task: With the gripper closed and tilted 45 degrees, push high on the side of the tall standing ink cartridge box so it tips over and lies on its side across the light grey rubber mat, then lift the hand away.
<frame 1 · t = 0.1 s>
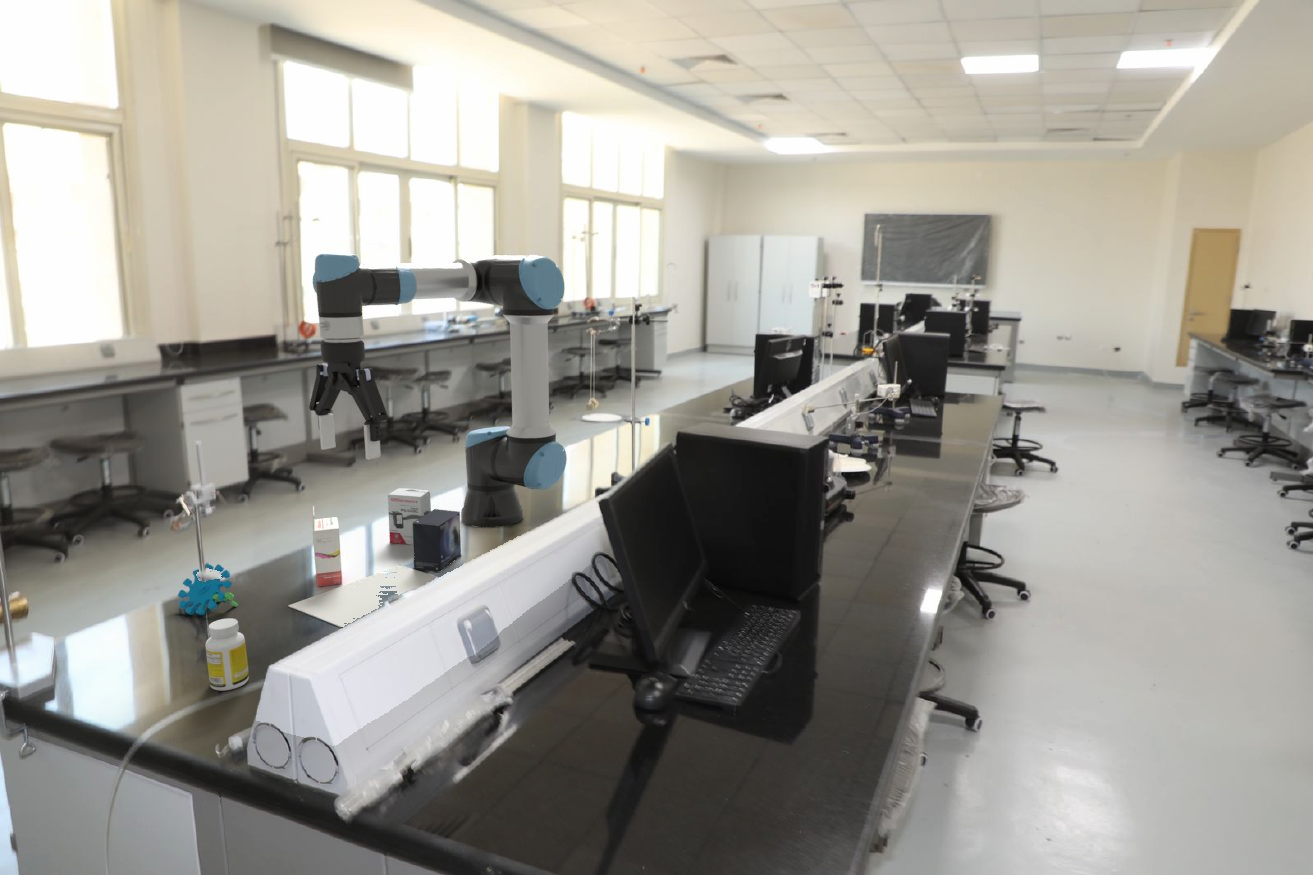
hand: (350, 453, 159), 28 cm above the worktop, tool pointing down, fingers open, 13 cm apart
supplement bottle: (229, 684, 130), on the worktop
ink box: (411, 541, 195), on the worktop
gear: (209, 609, 157), on the worktop
small box: (438, 564, 181), on the worktop
mat: (377, 595, 163), on the worktop
ink cartridge box: (329, 579, 172), on the worktop
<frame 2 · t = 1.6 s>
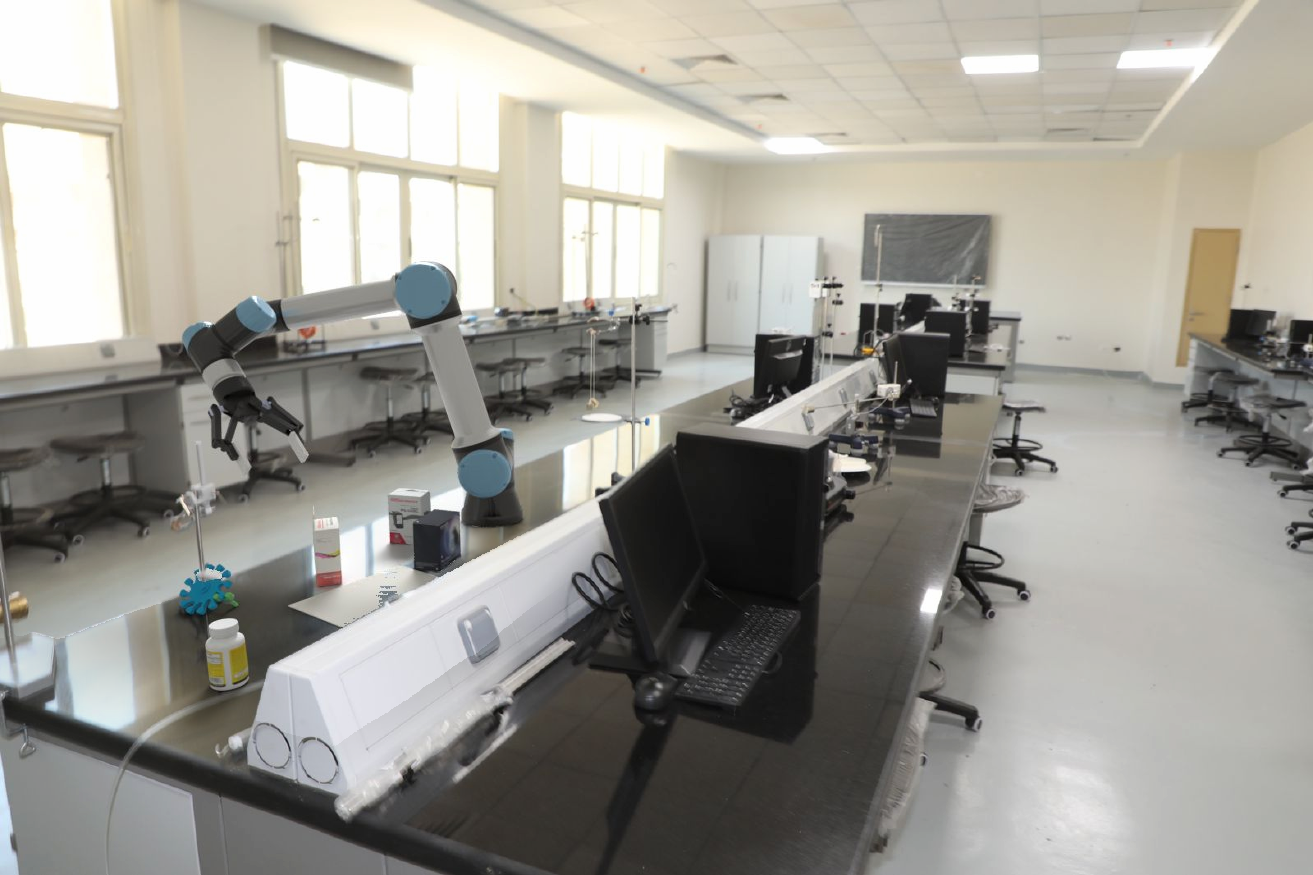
hand: (277, 464, 175), 22 cm above the worktop, tool tilted 45°, fingers open, 12 cm apart
nothing on the worktop moved.
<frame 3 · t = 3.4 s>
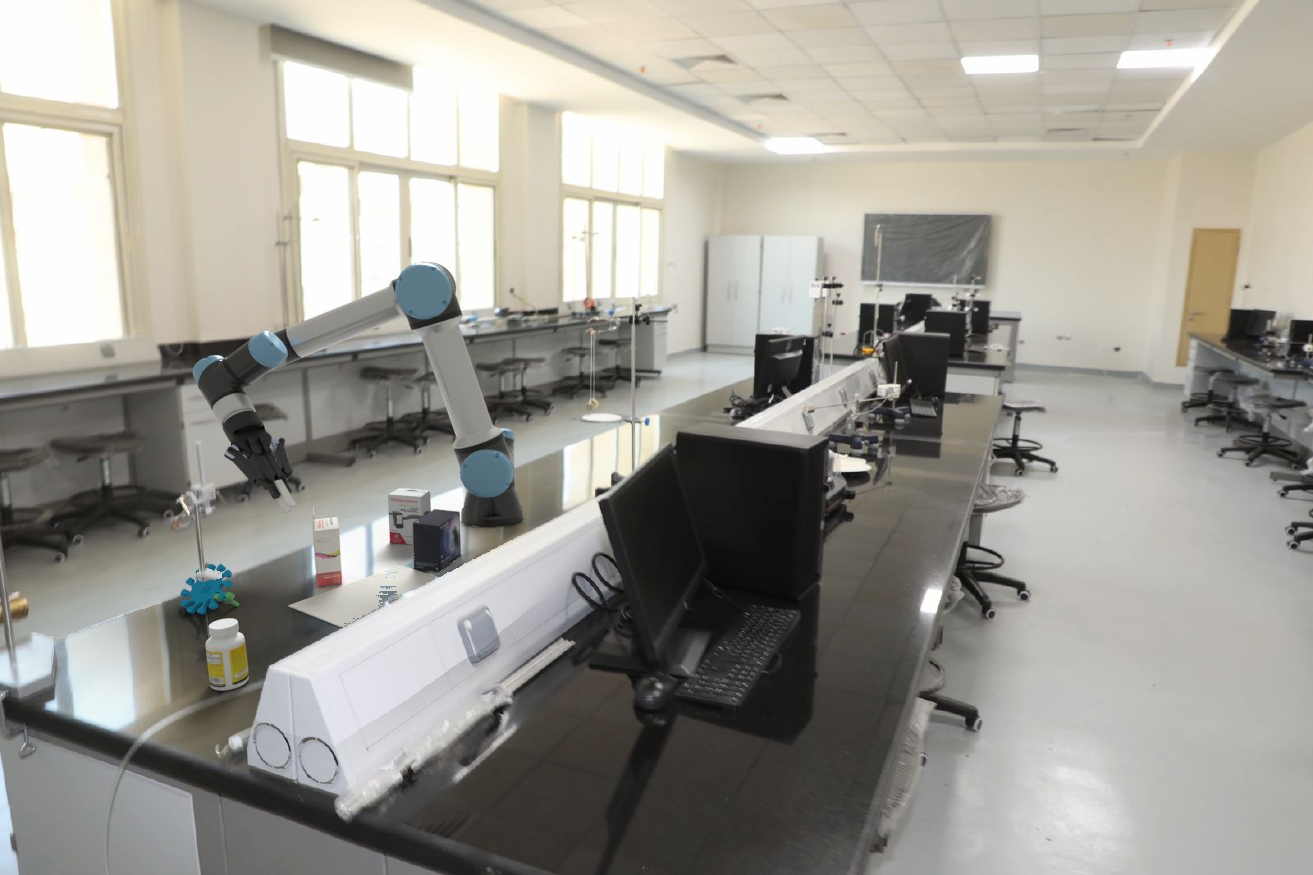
hand: (290, 508, 175), 13 cm above the worktop, tool tilted 45°, fingers closed
nothing on the worktop moved.
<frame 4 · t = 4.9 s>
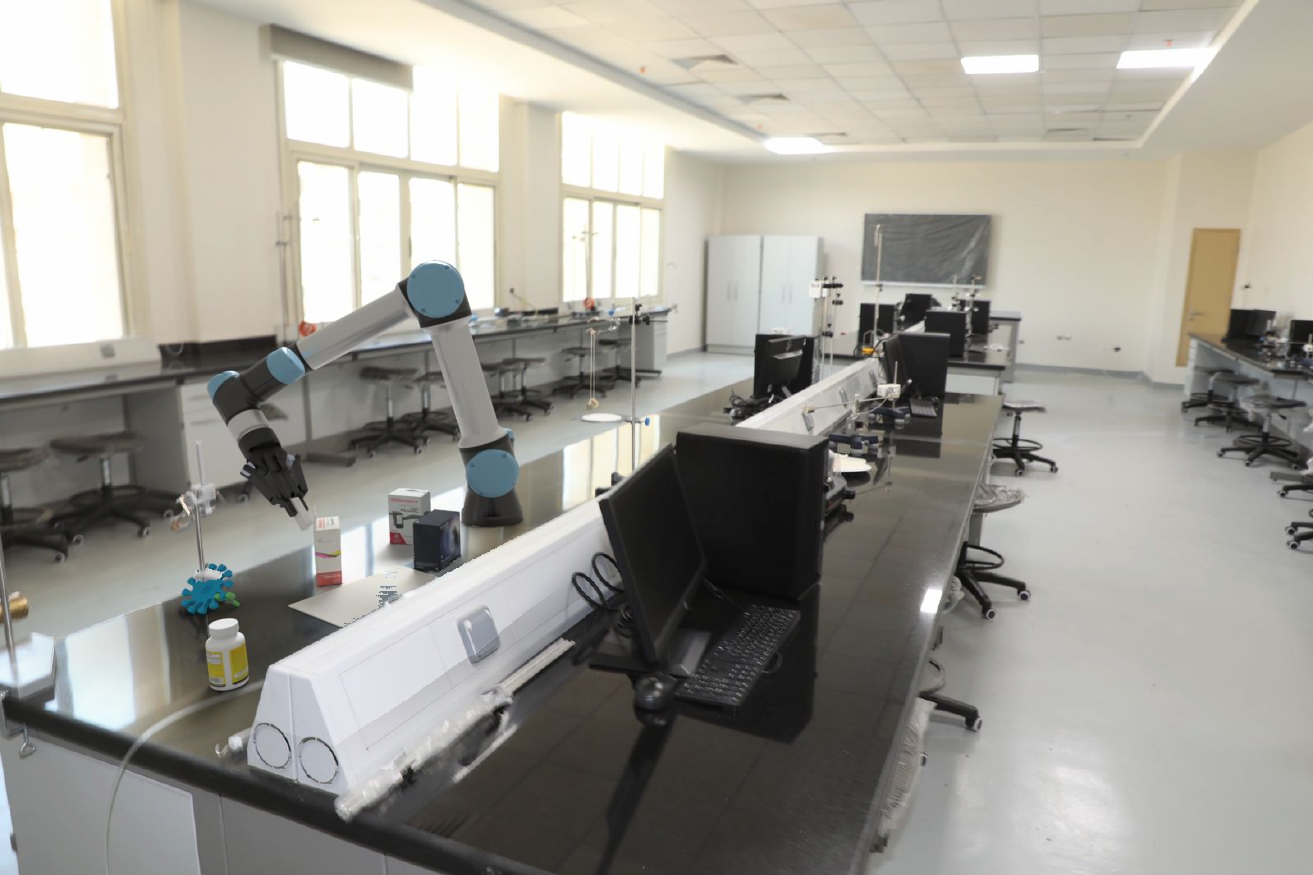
hand: (307, 526, 172), 10 cm above the worktop, tool tilted 45°, fingers closed
ink cartridge box: (329, 578, 172), on the worktop, touching gripper
everything else where it was.
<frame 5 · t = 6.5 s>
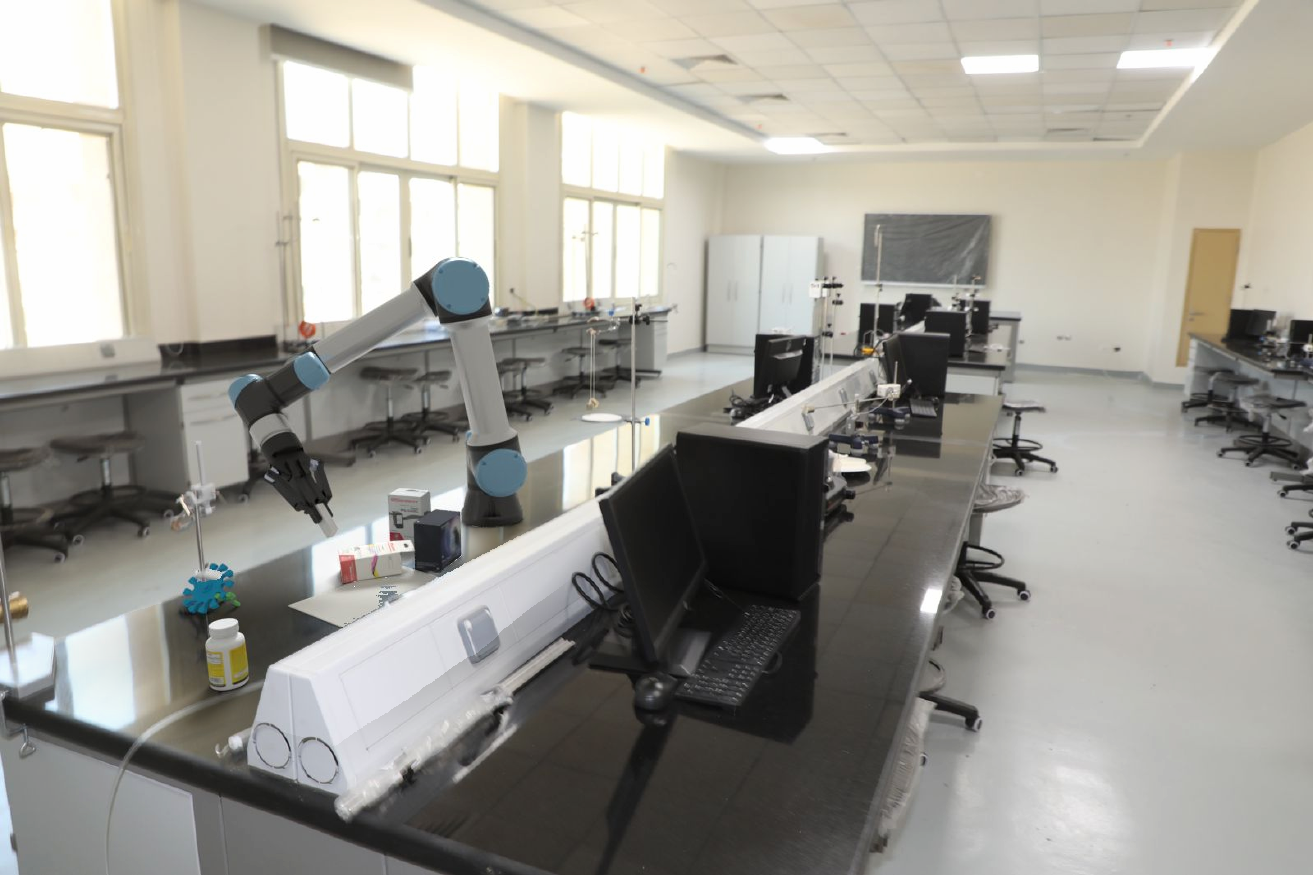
hand: (332, 533, 168), 10 cm above the worktop, tool tilted 45°, fingers closed
ink cartridge box: (338, 566, 172), point 2 cm above the worktop, touching mat
everything else where it was.
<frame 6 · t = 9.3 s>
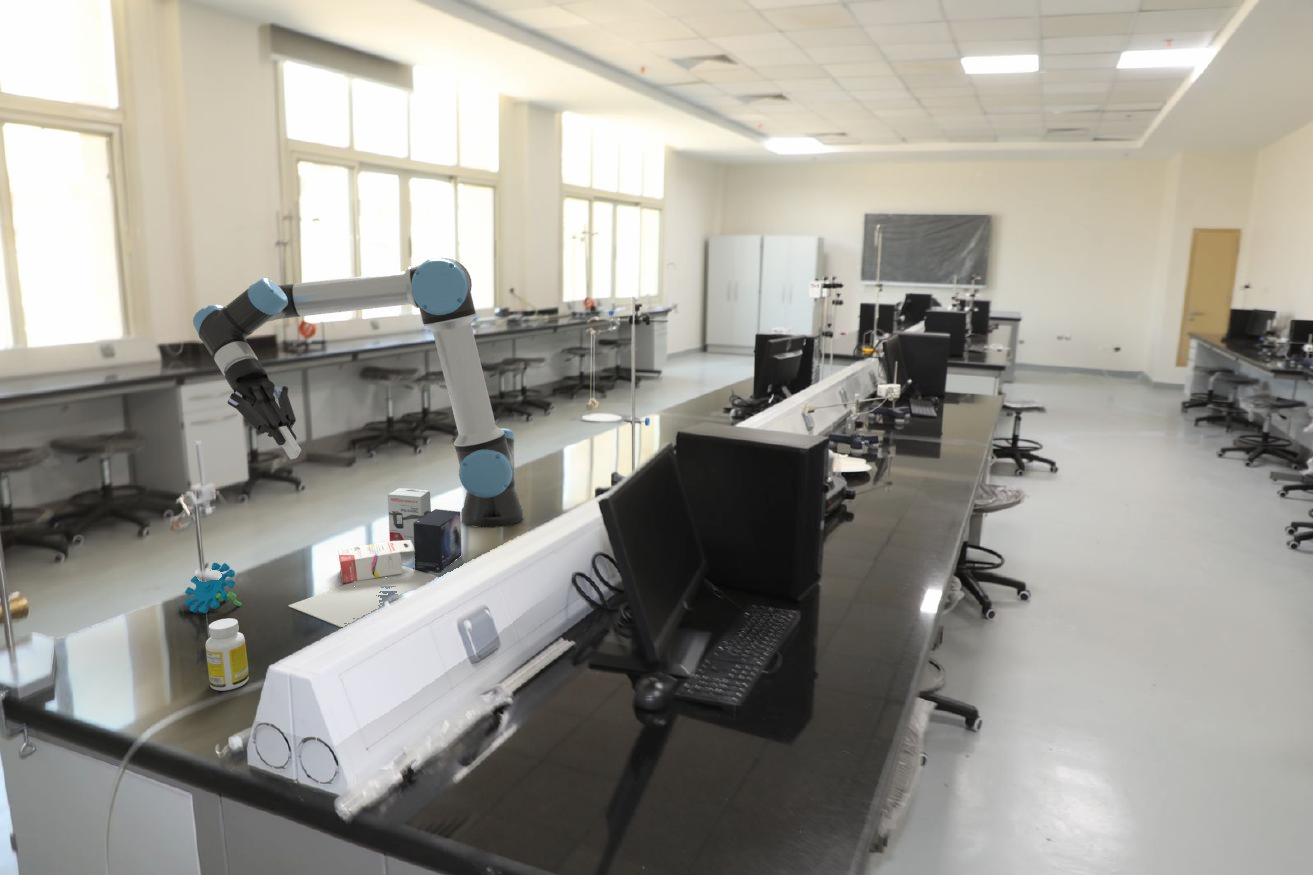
hand: (295, 454, 173), 24 cm above the worktop, tool tilted 45°, fingers closed
nothing on the worktop moved.
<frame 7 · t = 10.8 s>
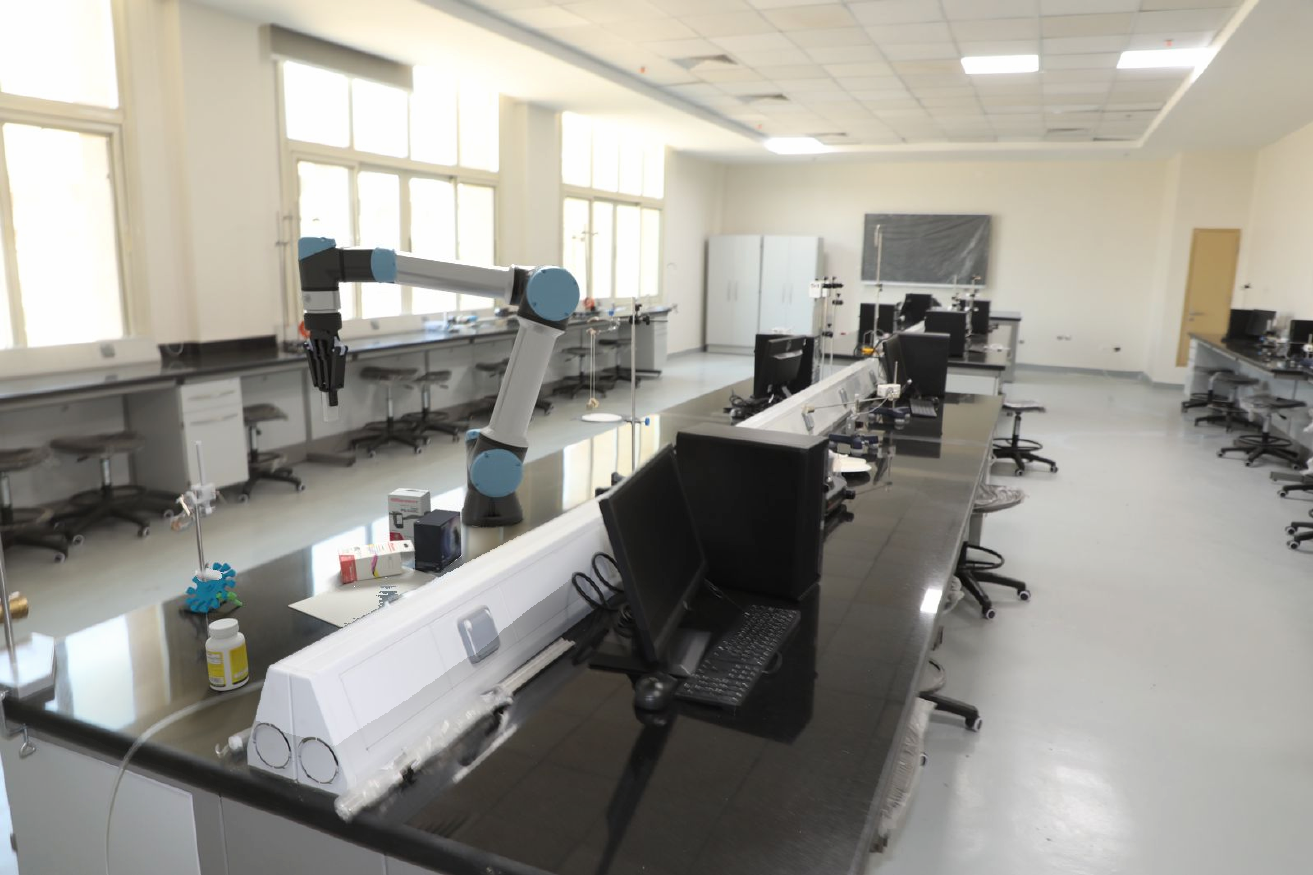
hand: (331, 420, 184), 29 cm above the worktop, tool pointing down, fingers closed
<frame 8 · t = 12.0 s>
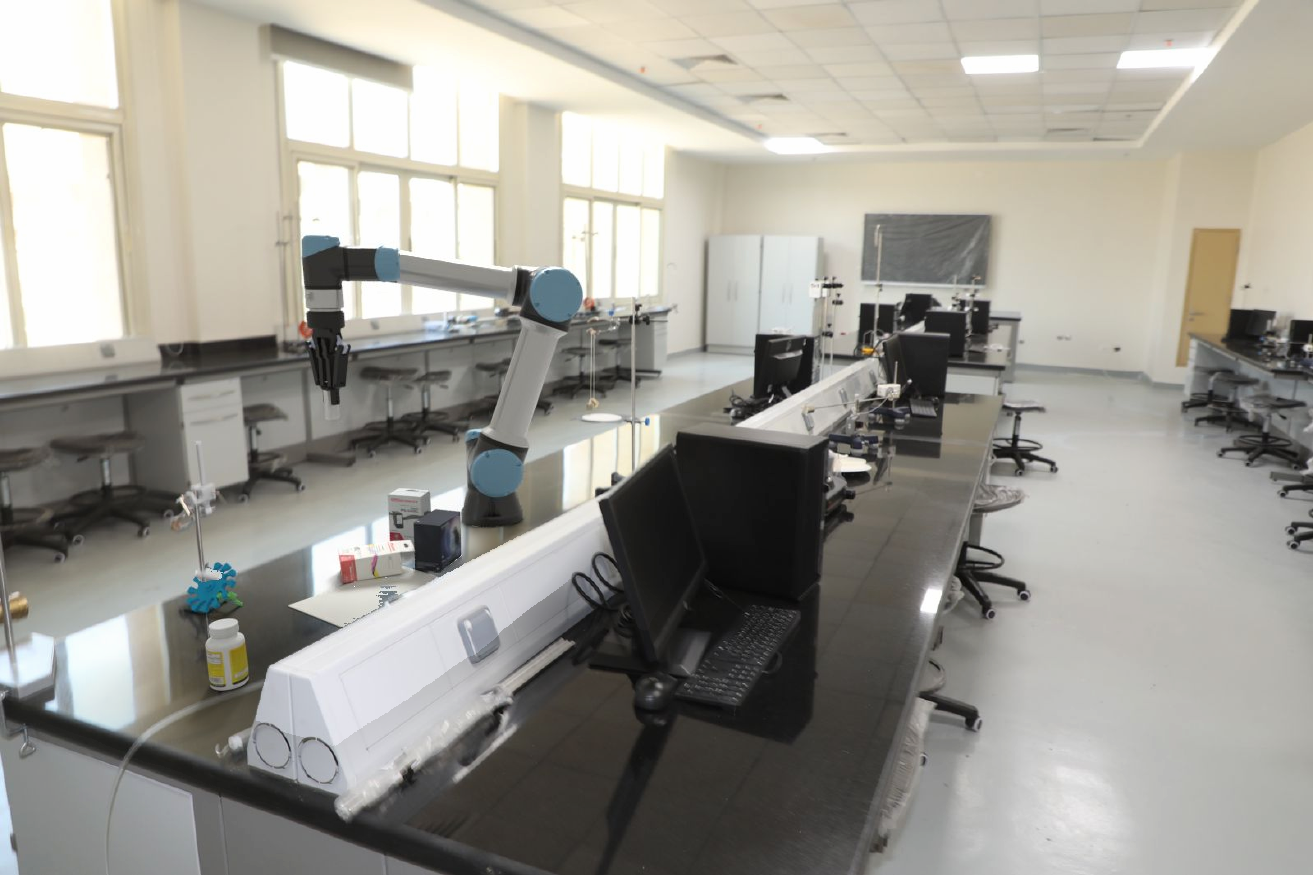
hand: (332, 419, 184), 29 cm above the worktop, tool pointing down, fingers closed
at the end: ink cartridge box tilted 87°; ink cartridge box touching mat, worktop; ink cartridge box inside the target area (7.7 cm from its centre), point 2.3 cm above the worktop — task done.
